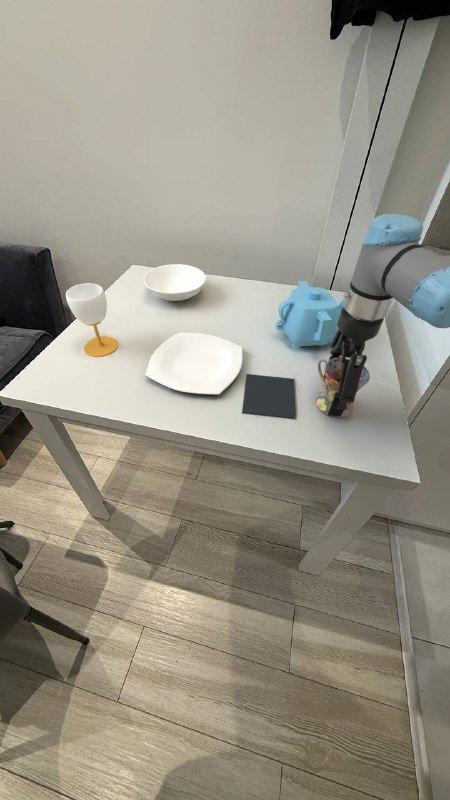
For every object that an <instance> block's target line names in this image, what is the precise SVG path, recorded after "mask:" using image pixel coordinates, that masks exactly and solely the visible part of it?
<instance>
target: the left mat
mask: <svg viewBox="0 0 450 800" xmlns="http://www.w3.org/2000/svg"><path fill="white" fill-rule="evenodd" d="M295 383H296V381H295V378H290V377H280V376H271V375H261V374H253V373H246V376H245V383H244V391H243V392H244V393H243V401H242V410H241V413H242V414H244V415H245V414H246V415H253V416H254V415H255V416H264V417H271V418H272V417H273V418H280V419H290V420H291V419H292V420H296V419H297V412H296V411H297V408H296V384H295Z"/></svg>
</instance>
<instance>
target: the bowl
mask: <svg viewBox="0 0 450 800" xmlns="http://www.w3.org/2000/svg"><path fill="white" fill-rule="evenodd" d="M206 281H207V277H206V274H205V272H204V271H203V270H201V269H199V268H197V267H195V266H192V265H190V264H189V265H187V264H180V263H173V264H171V263H170V264H163V265H160V266H156V267H154V268H151V269H150V270H148V271H147V272H146V273H145V274H144V276H143V281H142V283H143V284H144V285H145V286H146V287H147V288H148V289H149V292H150V293H151V294H152V295H154V296H155V297H158V298H159V299H163V300H165V301H169V302H170V301H171V302H181V301H185V300H188V299H190V298H192V297H195V296H196V295H197V294H199V293H200V292H201V290H202V288H203V286H204V285H205V283H206Z"/></svg>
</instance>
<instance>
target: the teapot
mask: <svg viewBox="0 0 450 800" xmlns="http://www.w3.org/2000/svg"><path fill="white" fill-rule="evenodd" d="M309 285H310V284H309V283H308V282H307V281H306V280H305V281H304V280H301V281H298V283H297V286H296V288H293V290H292V291H291V293H290V294H289V295H288V297H287V299H284V300H282V301H281V302H280V304H279V305H278V315H279V318H280V319H279V320H277V321H276V322H275V328H276V330H279V331H283V332H284V334H285V336H286V337H287V338H288V339H289V341H290V342H291V346H292V347H293V348H296V349H300V348H302V347H311V346H319V347H325V346H326V345H328V344H331V343H332V341H333V339H334V337H335V335H336V333H337V331H338V326H337V323H338V320H339V317H340V313H341V310H342V308H343V307H344V302H345V299H346V298H344V297H343V298H342V300H341V301H340V303H339V304H338V303H337V301H336V299H335V297H334V296H333V295H332V294H331V293H330V292H329V291H328V290H327V289H325V288H323V287H321V286H319V287H318V286H317V287H316V286H315V287H313V286H312V287H310V286H309Z"/></svg>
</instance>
